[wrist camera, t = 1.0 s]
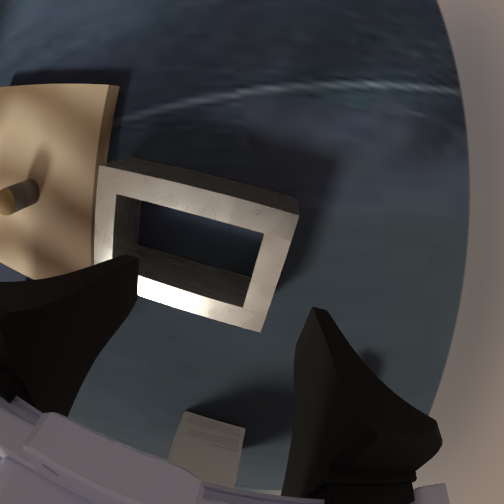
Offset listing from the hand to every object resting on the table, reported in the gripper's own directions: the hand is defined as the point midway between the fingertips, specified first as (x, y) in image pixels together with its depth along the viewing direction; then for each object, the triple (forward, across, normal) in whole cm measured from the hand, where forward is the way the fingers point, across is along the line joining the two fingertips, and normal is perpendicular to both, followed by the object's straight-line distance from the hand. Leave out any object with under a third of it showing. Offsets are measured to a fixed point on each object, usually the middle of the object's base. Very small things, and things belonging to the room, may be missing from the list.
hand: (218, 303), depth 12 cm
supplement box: (+10, -1, +26) cm, 28 cm away
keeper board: (+10, +18, +1) cm, 21 cm away
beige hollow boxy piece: (+10, +4, +1) cm, 10 cm away
